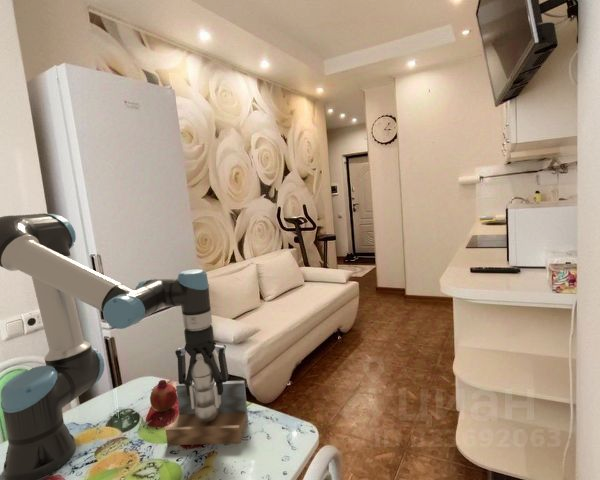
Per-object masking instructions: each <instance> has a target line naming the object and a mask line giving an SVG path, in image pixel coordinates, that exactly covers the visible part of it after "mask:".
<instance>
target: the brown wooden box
mask: <svg viewBox="0 0 600 480" xmlns="http://www.w3.org/2000/svg"><path fill="white" fill-rule="evenodd" d="M245 382H246V381H245V380H227V381H226V382H225V383H224V382H223V393H222V395H220V396H221V404H220V406H219V410H218V415H217V416H216V418H215V419H213V420H212V421H209V422H200V421H199V420H198V419H197V418H196V415H195V409H192V407H191V398H190V396H188V395H187V390H186V385H185V384H179V382H178V383H177V384H176V385H175V387H176V388H175V389H176V393H177V405H178V416H177V418H176V419H175V421H174V422H173V424H172V425H171V427H170V426H167V427H166V428H165V435H166V444H167V446H181V445H182V446H183V445H184V446H185V445H188V446H189V445H190V446H191V445H216V444H217V445H222V444H224V445H226V444H241V442H242V439H243V436H244V432H245V429H246V426H247V423H248V420H249V417H248V416H249V415H248V414H249V413H248V405H247V394H246V383H245ZM214 384H215V381H214Z"/></svg>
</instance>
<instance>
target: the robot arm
mask: <svg viewBox="0 0 600 480" xmlns="http://www.w3.org/2000/svg"><path fill="white" fill-rule="evenodd" d="M75 231H76V230H75V229H74V226H73V225H72V224H71V222H70V221H69V220H68V219H66V218H64V217H63V216H62V215H60V214H56V213H44V212H43V213H34V214H19V215H3V216H0V267H2V269H5V270H7V271H11V272H12V271H13V272H16V271H20V272H22V273H24V274H26V275H28V276H30V277H31V280H32V283H33V288H34V291H35V296H36V301H37V304H38V308H39V309H38V310H39V312H40V317H41V321H42V325H43V326H42V327H43V328H44V329H43V330H44V333H45V338H46V342H47V346H48V349H49V350H48V352H47V353H46V354H45V356H44V362H45V365H39V366H35V367H32V368H31V369H29V370H24V371H22V372H20V373H18V374H16V375H15V376H13V377H12V378H10V379H9V380H8V381H7V382H6V383H5V384H4V386H3V387H2V389H1V390H0V399H1V400H0V401H1V402H0V406H1V410H2V413H3V417H4V424H5V430H6V435H7V442H8V446H7V449H6V453H5V461H4V463H3V469H2V470H3V474H4V478H5V480H38V479H40V478H43V477H44V476H47V475H48V474H51V473H53V472H55V471H56V470H58V469H59V468H60V467H63V465H65V463H67V462H68V461H69V460H70V459H71V458H72V457H73V455H74V453H76V449H77V448H76V439H75V437H74V436H73V434H71V432H70V431H69V428H68V426H67V425H66V424H65V421H64V415H63V408H64V407H66V406H67V405H69V404H70V403H71V402H73V401H75V399H77V398H78V397H79V396H81V395H83V394H84V393H85V392H87V391H89V390H90V389H91V388H92V387H93V386H94V385H95V384H97V383H98V382H99V381H100V380H101V378H102V376H103V375H104V371H105V361H104V357H103V355H102V353H100V352H98V351H99V350H98V349H96V348H95V347H92V344H91V343H90V342H89V341H86V340H84V336H83V332H82V331H83V330H82V327H81V323H80V322H81V321H80V318H79V314H78V310H77V309H78V308H77V306H76V300H75V299H77V300H79V301H81V302H83V303H84V304H87V305H89V306H90V307H93V308H95V309H97V310H99V311H101V312H102V316H103V318H104V321H105V322H107V324H108V326H109V327H111V328H113V329H116V330H118V329H119V330H123V329H126V328H130V327H131V326H133V325H136V324H138V323H140V321H142V320H143V319H146V318H147V317H148V316H151V315H153V314H154V313H156V312H157V311H159V310H161V309H163V308H169V307H170V308H171V307H181V314H182V321H183V322H182V323H183V328H184V330H183V331H184V332H183V333H184V341H185V345H184V346H179V347H178V348H177V349H176V350H175V352H174V353H175V356H176V358H177V374H178V375H177V377H178V379H177V380H178V383H179V384H185V385H186V390H187V395H188V396H190V398H191V407H192V409H195V405H196V398H195V388H194V383H193V379H192V376H191V368H192V366H193V364H194V362H195V355H196V353H201V354H202V356H203V357H204V360H205V362H206V364H208V365H209V366H210V367H211V370H212V376H213V378H214V382H215V384H214V395H215V405H216V408H219V406H220V404H221V396H220V395H222V393H223V382H224V383H225V382H226V381H228V378H229V377H230V375H229V369H228V365H227V364H228V363H227V359H226V353H225V352H226V347H227V346H226V345H225V344H222V345H218V344H216V341H215V338H214V336H215V335H214V328H213V324H212V323H213V319H212V309H211V302H210V301H211V299H210V284H209V279H208V274H207V272H206V270H204V269H200V268H199V269H197V268H196V269H195V268H194V269H187V270H183V271H181V272H179V273H178V275H177V278H160V279H159V278H158V279H157V278H151V279H143V280H141V281H139V282H138V284H137V285H136V287H135V288H131V287H129V286H127V285H124V284H123V283H120V282H118V281H116V280H114V279H112V278H111V277H108V276H106V275H104V274H102V273H99V272H97V271H96V270H94V269H92V268H90V267H88V266H86V265H83V264H81V263H79V262H77V261H75V260H73V259H71V257H72V256H71V252H70V251H71V249H72V248H73V246H74V243H75V242H76V239H77V238H76V232H75ZM214 351H216V354H217V355H218V356H217V359H218V365H219V367H218V365H217V362H216V360H215V356H214ZM186 353H187V355H189V356H190V358H189V365H188V369H186V368H187V367H186Z"/></svg>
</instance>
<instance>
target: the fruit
mask: <svg viewBox="0 0 600 480" xmlns="http://www.w3.org/2000/svg"><path fill="white" fill-rule="evenodd" d="M175 387H176V386H174V385H172V384H170V383H167V381H166V380H165V379H160V380H159V381H158V383H157V386H155V387H154V388H153V389H152V391H151V392H150V397H149V401H150V406H151V408H152V409H154V410H155V411H158V412H164V411H168V410H169V409H171V408H172V407H174V405H176V403H177V401H178V398H177V389H176V388H175Z"/></svg>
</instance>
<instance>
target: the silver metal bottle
mask: <svg viewBox="0 0 600 480" xmlns="http://www.w3.org/2000/svg"><path fill="white" fill-rule="evenodd" d="M191 376H192V379H193V381H192V382H193V383H194V388H195V398H196V405H195V415H196V418H197V419H198V420H199V421H200V422H209V421H212V420H213V419H215V418H216V416H217V415H218V410H219V408H216V405H215V395H214V382H215V380H214V378H213V376H212V370H211V367H210V366H209V365H208V364H206V362H205V360H204V357H203V356H202V354H201V353H196V355H195V362H194V364H193V366H192V368H191Z"/></svg>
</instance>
